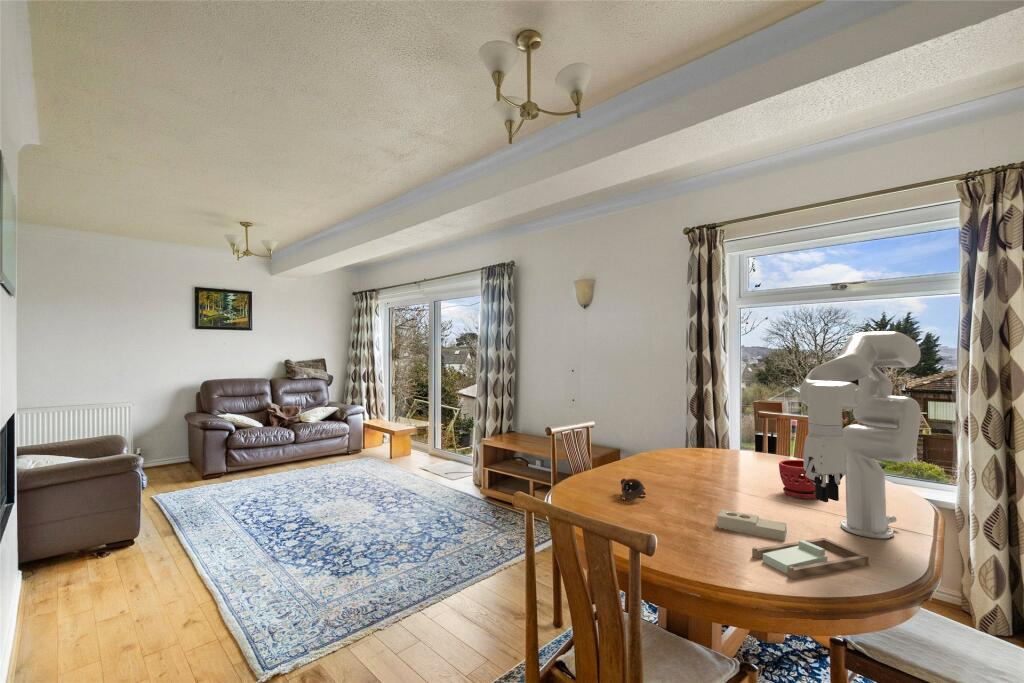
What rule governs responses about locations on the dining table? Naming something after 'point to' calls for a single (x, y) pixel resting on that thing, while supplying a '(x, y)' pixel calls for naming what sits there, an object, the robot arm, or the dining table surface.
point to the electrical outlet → (751, 524)
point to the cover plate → (795, 556)
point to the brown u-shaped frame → (823, 567)
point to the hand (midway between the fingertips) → (827, 499)
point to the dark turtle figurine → (632, 488)
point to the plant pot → (796, 479)
